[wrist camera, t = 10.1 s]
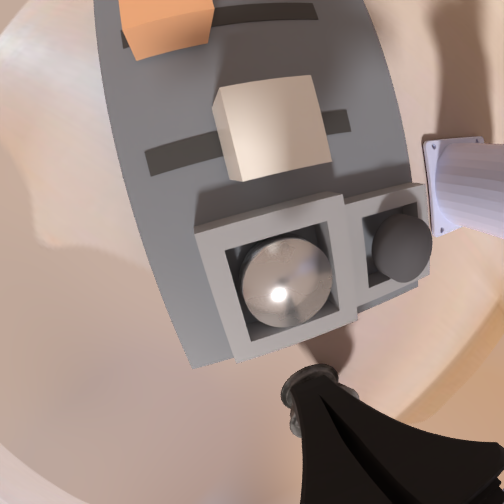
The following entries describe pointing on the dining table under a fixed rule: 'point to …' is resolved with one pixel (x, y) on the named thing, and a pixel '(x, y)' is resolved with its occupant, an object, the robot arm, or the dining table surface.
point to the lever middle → (270, 127)
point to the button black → (402, 247)
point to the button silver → (285, 280)
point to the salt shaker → (305, 376)
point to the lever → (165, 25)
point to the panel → (264, 188)
